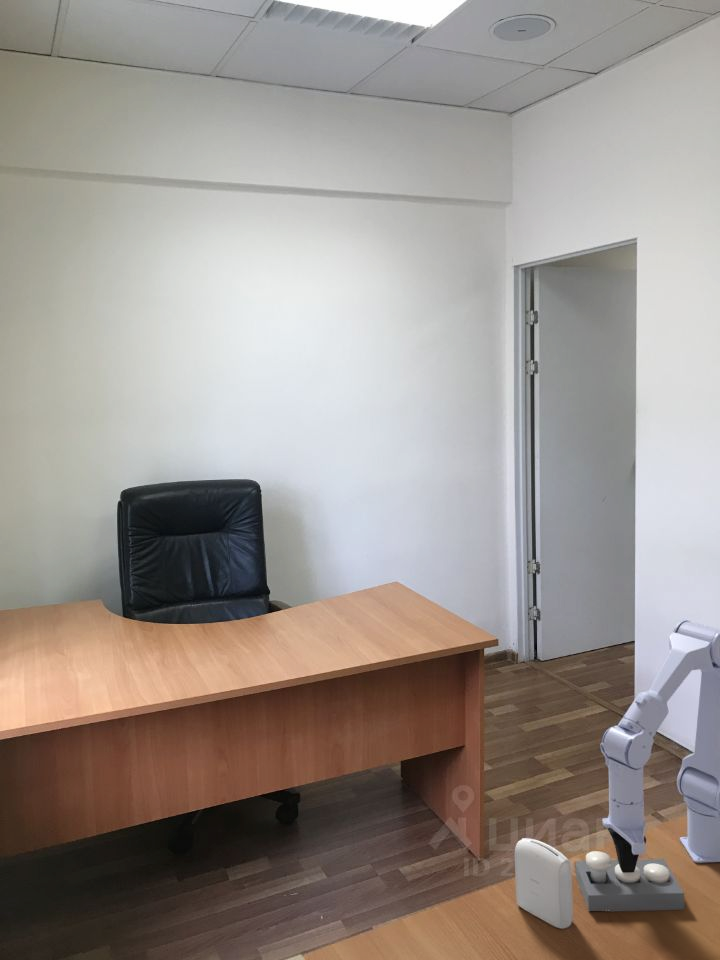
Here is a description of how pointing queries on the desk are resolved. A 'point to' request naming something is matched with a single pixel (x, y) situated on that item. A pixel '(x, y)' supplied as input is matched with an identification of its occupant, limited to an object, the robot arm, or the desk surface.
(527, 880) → the photo printer
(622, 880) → the knob middle
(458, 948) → the desk surface
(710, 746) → the robot arm
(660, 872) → the knob
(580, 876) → the mount
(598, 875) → the knob
